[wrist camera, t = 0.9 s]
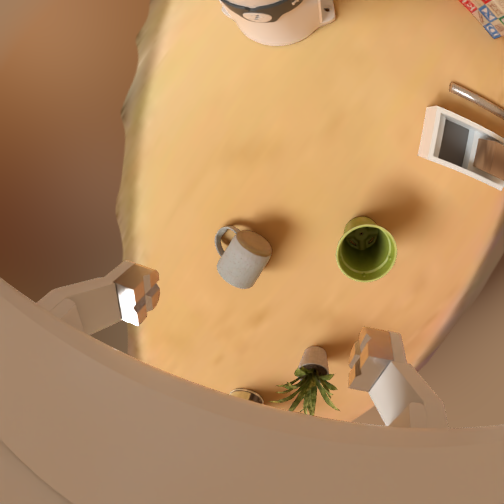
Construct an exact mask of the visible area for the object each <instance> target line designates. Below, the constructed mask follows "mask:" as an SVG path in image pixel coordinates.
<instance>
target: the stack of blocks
mask: <svg viewBox="0 0 504 504" xmlns="http://www.w3.org/2000/svg"><path fill="white" fill-rule="evenodd" d="M459 1H460V2H461V3H462V4H463V5H464V6H465V7H466V8H467V9H468V10H469V11H470V12H471V13H472V15H473V16H474V17H475V18H476V19H477V20H478V21H479V22H480V23H481V24H482V26H483V27H484V28H485V29H486V30H487V31H488V33H489V34H490V35H491V36H492V37H493V38H494V39H496V38H498V37H501V36H504V0H459Z"/></svg>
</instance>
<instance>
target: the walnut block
mask: <svg viewBox="0 0 504 504" xmlns="http://www.w3.org/2000/svg"><path fill="white" fill-rule="evenodd" d="M473 166H474V167H476V168H478V169H480V170H482V171H484V172H486V173H488V174H490V175H492V176H495V177H497V178H499V179H501V180H503V181H504V146H503V145H501V144H500V143H498V142H495V141H490V140H485V139H480V138H479V139H478V144H477V149H476V154H475V159H474V163H473Z"/></svg>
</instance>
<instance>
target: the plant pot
mask: <svg viewBox="0 0 504 504" xmlns="http://www.w3.org/2000/svg"><path fill="white" fill-rule="evenodd" d="M360 232H362V233H363V235H360ZM372 238H374V239H373V241H372V242H371V243H368V242H369V241H370V240H371V239H372ZM350 241H352V242H354V243H355V244H356V245H354V244H352V243H351V242H350ZM396 257H397V245H396V242H395V239H394V238H393V236H392V235H391V233H390V232H389V231H387V230H386V229H385V228H383V227H381V226H378V225H377V224H376V223H375V222H374V221H373V220H371V219H370V218H367V217H356V218H354V219H352V220H350V221H349V222H348V224H347V225H346V227H345V230H344V235H343V236H342V238H341V239H340V241H339V243H338V246H337V250H336V260H337V264H338V266H339V268H340V270H341V271H342V273H343V274H344V275H346V276H347V277H348V278H350V279H352V280H355V281H358V282H372V281H376V280H378V279H380V278H382V277H383V276H385V275H386V274H387V273H388V272H389V271H390V270H391V269H392V267H393V265H394V263H395V261H396Z"/></svg>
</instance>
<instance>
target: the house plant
mask: <svg viewBox="0 0 504 504" xmlns="http://www.w3.org/2000/svg"><path fill="white" fill-rule="evenodd" d="M294 374H295V376H297V377H298V378H297V379H296V380H294V381H292V382H290V383H288V382H287V384H285V385H283V384H282V385H277V386H280V387H285V388H286V389H289V390H286V391H283V392H276V393H287V392H290V391H291V390H293V389H296V388H298V387H300V386H301V387H300V388H299V389H298V390H297V391H296V392H295V393H293V394H292V395H290V396H289V397H286V398H284V399H281V400H278V401H268V402H274V403H281V402H285V401H288V400H290V399H292V398H293V397H294V396H295V395H296V394H297V393H298V392H300V393H299V395H298V397H297V398H296V400H295V401H294V402H293V404H292V405H291V407H290V409H289V410H288V411H293V410H294V409H295V408H296V406H297V405H298V404H299V403H300V401H301V400H302V399H303V398H304V404H303V408H304V409H302V410H304V413H305V414H307V407H308V410H309V413H310V415H312V416H314V411H315V403H316V395H317V387H318V389H319V391H320V392H321V395H322V397H323V399H324V400H325V402H326V403H327V404H328V405H329V406H331V407H332V408H334V409H335V410H339V409H337V408H336V407H335V406H334V405H333V403H332V402H331V401H330V399H329V398H328V396H329V397H330V398H331V396H330V395H333V394H331V393H330V392H329V389H330V390H337V388H336V387H335V386H334V385H332V384H330V383H329V382H327V381H326V380H330V379H331V378H332V377H333V375H334V374H329V369H328V362H327V354H326V351H325V350H324V349H323V348H321V347H318V346H312V347H309V348H307V349H306V350H305V352H304V354H303V357H302V359H301V361H300V364H299V366H298V369H297V370H296V371H295V373H294ZM299 379H300V380H301V381H300V382H299V383H298V384H296V385H292V384H293V383H295V382H296V381H298V380H299ZM320 383H321V384H322V385H323V387H324V388H325V389H324V388H323V387H322V385H321V384H320ZM326 393H327V394H328V396H327V394H326ZM302 410H301V411H302ZM301 411H300V412H301ZM339 411H340V410H339Z"/></svg>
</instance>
